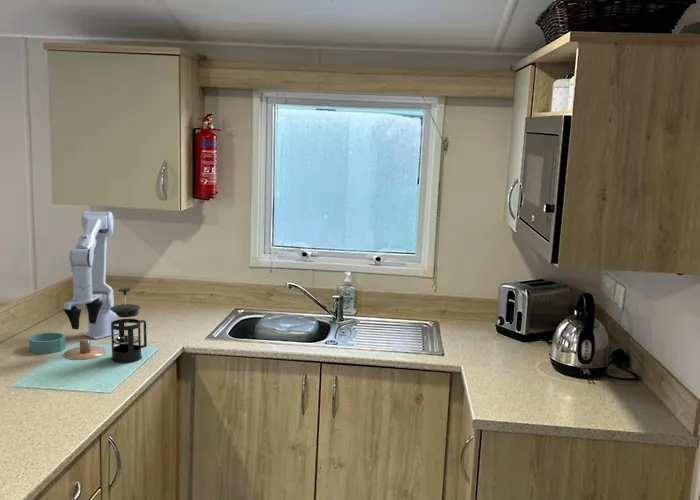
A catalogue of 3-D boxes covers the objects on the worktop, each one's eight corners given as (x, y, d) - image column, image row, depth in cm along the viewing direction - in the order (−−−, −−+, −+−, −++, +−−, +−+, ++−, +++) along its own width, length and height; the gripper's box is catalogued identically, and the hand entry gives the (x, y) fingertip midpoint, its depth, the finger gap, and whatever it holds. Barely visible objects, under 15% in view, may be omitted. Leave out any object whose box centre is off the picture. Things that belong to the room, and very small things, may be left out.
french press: (114, 365, 218) (112, 293, 214) (105, 357, 225) (103, 287, 222) (151, 359, 225) (149, 289, 221) (141, 351, 232) (139, 283, 228)
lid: (92, 345, 238) (92, 332, 237) (114, 354, 229) (113, 340, 229) (56, 354, 228) (55, 340, 227) (77, 363, 220) (76, 349, 219)
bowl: (55, 341, 240) (54, 330, 239) (71, 348, 233) (71, 337, 232) (24, 348, 231) (23, 337, 231) (39, 355, 225) (39, 344, 224)
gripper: (89, 279, 233) (90, 319, 235) (55, 288, 220) (57, 329, 222) (106, 282, 230) (107, 321, 232) (73, 290, 217) (74, 332, 219)
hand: (84, 326), depth 227 cm, fingers open, 7 cm apart
